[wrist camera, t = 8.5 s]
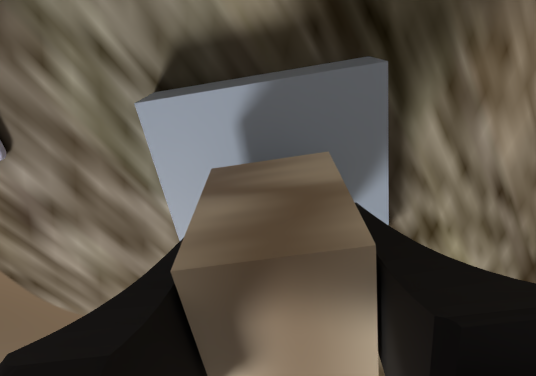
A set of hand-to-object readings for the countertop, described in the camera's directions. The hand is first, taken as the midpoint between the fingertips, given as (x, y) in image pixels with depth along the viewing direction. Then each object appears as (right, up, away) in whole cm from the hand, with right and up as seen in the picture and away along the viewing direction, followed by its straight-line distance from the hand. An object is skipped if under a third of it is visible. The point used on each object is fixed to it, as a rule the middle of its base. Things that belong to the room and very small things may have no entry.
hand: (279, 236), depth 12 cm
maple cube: (0, +1, +1) cm, 2 cm away
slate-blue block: (0, +3, +6) cm, 6 cm away
